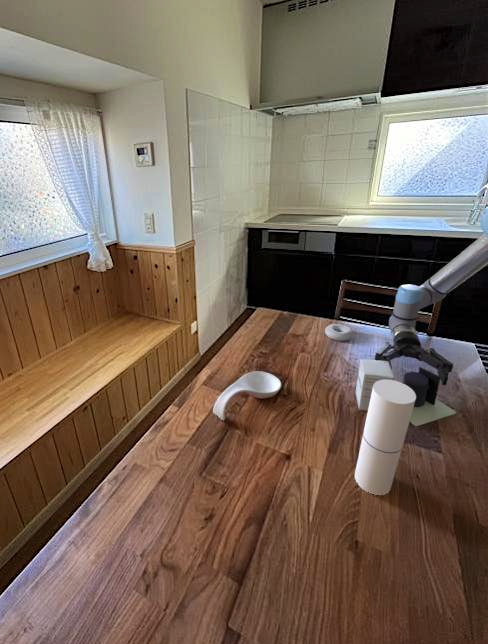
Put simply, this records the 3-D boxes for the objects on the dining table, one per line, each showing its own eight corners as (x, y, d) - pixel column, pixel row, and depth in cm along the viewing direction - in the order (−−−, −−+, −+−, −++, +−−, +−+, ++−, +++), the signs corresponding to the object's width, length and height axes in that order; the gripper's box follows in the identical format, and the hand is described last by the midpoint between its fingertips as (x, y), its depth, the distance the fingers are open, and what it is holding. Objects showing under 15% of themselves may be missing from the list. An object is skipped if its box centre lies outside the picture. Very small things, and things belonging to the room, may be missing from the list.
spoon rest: (259, 375, 112) (260, 357, 109) (288, 392, 103) (290, 373, 100) (205, 408, 99) (204, 388, 96) (233, 430, 90) (233, 410, 87)
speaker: (420, 391, 99) (426, 363, 94) (435, 405, 94) (442, 376, 89) (395, 396, 99) (400, 369, 94) (409, 410, 94) (415, 382, 89)
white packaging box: (354, 393, 101) (359, 358, 96) (382, 396, 98) (389, 360, 93) (357, 410, 95) (363, 373, 89) (387, 414, 92) (395, 377, 87)
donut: (322, 329, 137) (326, 341, 128) (323, 321, 136) (327, 333, 127) (349, 330, 135) (354, 343, 126) (350, 323, 133) (355, 335, 124)
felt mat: (456, 413, 91) (457, 412, 91) (416, 426, 88) (416, 425, 88) (411, 383, 104) (412, 382, 103) (374, 393, 100) (374, 393, 100)
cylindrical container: (349, 481, 75) (367, 392, 65) (361, 461, 79) (380, 375, 69) (384, 502, 70) (409, 409, 60) (395, 479, 75) (420, 389, 64)
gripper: (447, 356, 111) (466, 396, 93) (363, 344, 120) (366, 378, 103) (453, 336, 108) (474, 374, 90) (366, 325, 117) (370, 358, 100)
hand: (416, 376), depth 96 cm, fingers open, 13 cm apart
